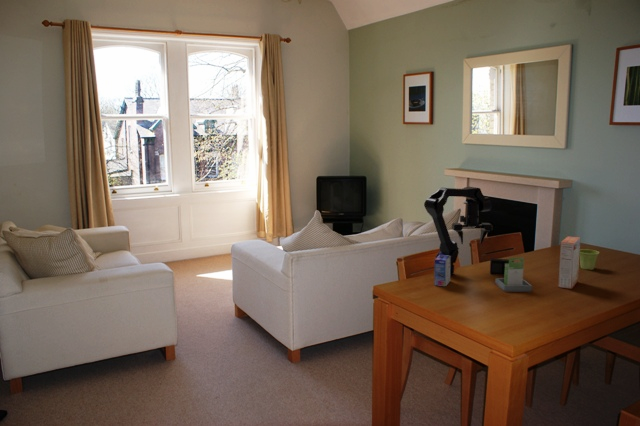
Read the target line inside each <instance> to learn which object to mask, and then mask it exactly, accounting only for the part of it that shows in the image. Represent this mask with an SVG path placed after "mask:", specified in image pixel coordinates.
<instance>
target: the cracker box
mask: <svg viewBox="0 0 640 426" xmlns="http://www.w3.org/2000/svg"><path fill="white" fill-rule="evenodd" d="M580 250H581V237H577V236H570V235H569V236H566V237H565V238H564V239H563V240H561V242H560V250H559V252H560V253H559V270H558V271H559V272H558V273H559V274H558V288H562V289H567V290H568V289H569V290H572V289H573V288H574V287H575V285H576V284H577V283H578V280H579V266H580V264H579V263H580V255H579V252H580Z"/></svg>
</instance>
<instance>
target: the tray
mask: <svg viewBox="0 0 640 426" xmlns="http://www.w3.org/2000/svg"><path fill="white" fill-rule="evenodd" d="M494 281H495V285H496V286H498V287H499V288H500V289H501V290H502V291H503V292H506V293H507V292H512V293H513V292H514V293H516V292H519V293H520V292H521V293H522V292H527V293H528V292H531V293H532V292H533V285H532V284H530V283H529V282H528V281H527V280H525V279H524V278H523V283H522V285H505V284H504V277H496V278H495V280H494Z"/></svg>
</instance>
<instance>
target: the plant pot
mask: <svg viewBox="0 0 640 426" xmlns="http://www.w3.org/2000/svg"><path fill="white" fill-rule="evenodd" d="M599 254H600V251H598V250H594V249H587V248H585V249H584V248H583V249H581V248H580V252H579V263H580V264H579V266H580V268H581V269H582V270H589V271H590V270H591V271H592V270H594V269H595V267H596V262H597V258H598V256H599Z"/></svg>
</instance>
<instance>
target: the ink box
mask: <svg viewBox="0 0 640 426" xmlns="http://www.w3.org/2000/svg"><path fill="white" fill-rule="evenodd" d="M524 258H525V257H524V256H523V257H509V258H508V259H509V264H505V273H504V275H503V276H504V277H503V278H504V284H505V285H522V283H523V279H524V261H525V259H524ZM517 260H518V261H517ZM512 261H514V262H512Z"/></svg>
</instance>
